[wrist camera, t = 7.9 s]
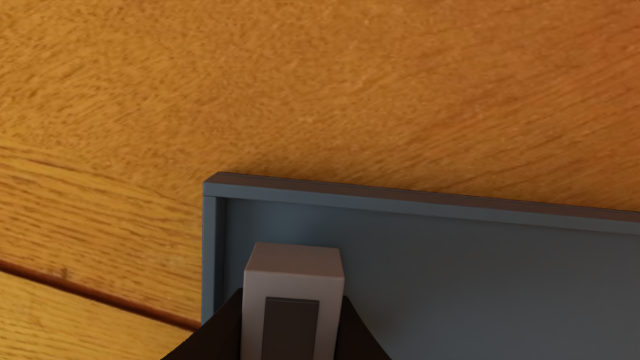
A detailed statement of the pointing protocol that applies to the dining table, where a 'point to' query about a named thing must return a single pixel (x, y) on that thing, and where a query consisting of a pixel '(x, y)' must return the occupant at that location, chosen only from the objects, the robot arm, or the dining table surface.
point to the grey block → (291, 302)
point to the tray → (443, 265)
